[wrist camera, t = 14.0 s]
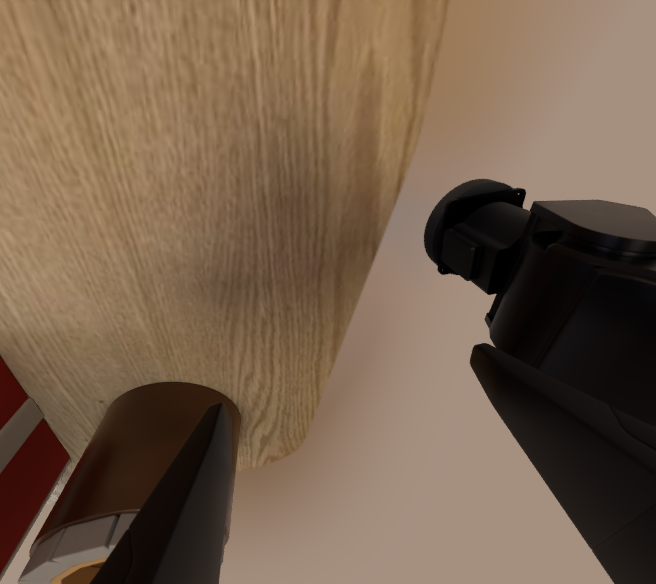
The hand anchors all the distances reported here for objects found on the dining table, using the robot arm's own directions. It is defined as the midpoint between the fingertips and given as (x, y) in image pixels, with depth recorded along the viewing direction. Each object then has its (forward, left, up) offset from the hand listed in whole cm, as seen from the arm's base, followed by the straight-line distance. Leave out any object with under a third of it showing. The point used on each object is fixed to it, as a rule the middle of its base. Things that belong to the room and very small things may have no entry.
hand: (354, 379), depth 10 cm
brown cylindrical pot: (+16, +16, -12) cm, 26 cm away
